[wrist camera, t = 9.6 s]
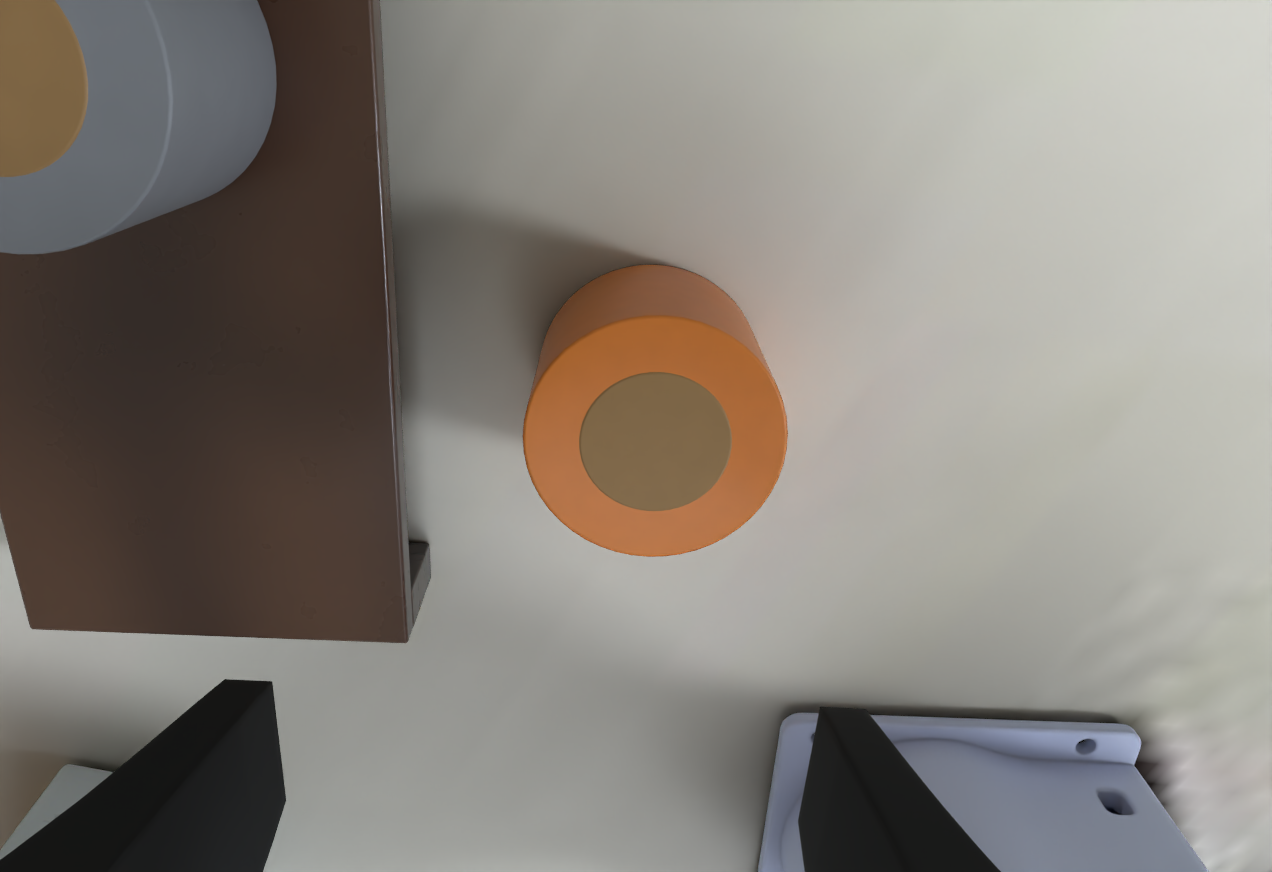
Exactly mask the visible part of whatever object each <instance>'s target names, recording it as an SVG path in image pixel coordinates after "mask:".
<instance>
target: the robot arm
mask: <svg viewBox="0 0 1272 872" xmlns="http://www.w3.org/2000/svg"><path fill="white" fill-rule="evenodd" d="M814 732H815V734H813V733H814ZM1084 739H1086V740H1085V741H1084V742H1082V743H1078V742H1080V741H1082V740H1084ZM1140 748H1141V740H1140V738H1139V736H1138V735H1137V733H1136V732H1135V731H1134V729H1133V728H1132V727H1130V726H1129V725H1125V724H1113V723H1085V722H1056V721H1028V720H1000V719H971V718H943V717H914V716H886V715H870V714H869V713H868V712H867V711H866V709H852V708H831V707H820V709H819V713H794V714H792V715H790V716H788V717H787V718H786V719H785V720H784V721H783V722H782V724H781V727H780V733H779V739H778V745H777V752H776V758H775V764H774V771H773V777H772V784H771V790H770V796H769V803H768V809H767V815H766V822H765V828H764V834H763V841H762V847H761V853H760V860H759V866H758V872H1209V871H1208V870H1207V868H1206V867H1205V865H1204V864H1203V862H1202V861H1201V860H1200V858H1199V857H1198V855H1197V854H1196V852H1195V851H1194V850H1193V848H1192V847H1191V845H1190V844H1189V843H1188V841H1187V840H1186V838H1185V837H1184V835H1183V834H1182V833H1181V831H1180V830H1179V828H1178V827H1177V826H1176V824H1175V823H1174V821H1173V820H1172V818H1171V817H1170V816H1169V814H1168V813H1167V811H1166V810H1165V809H1164V807H1163V806H1162V804H1161V803H1160V801H1159V800H1158V799H1157V797H1156V796H1155V794H1154V793H1153V792H1152V790H1151V789H1150V787H1149V786H1148V784H1147V783H1146V782H1145V780H1144V779H1143V777H1142V776H1141V775H1140V773H1139V772H1138V770H1137V769H1136V767H1135V766H1134V764H1135V761H1136V759H1137V756H1138V753H1139V750H1140ZM285 802H286V796H285V787H284V779H283V770H282V762H281V753H280V745H279V736H278V728H277V719H276V710H275V702H274V693H273V685H272V682H270V681H249V680H227V679H225V680H223V681H222V682H221V683H220V684H219V685H217V686H216V687H215V688H214V689H212V690H211V691H210V692H209V693H208V694H206V695H205V696H204V697H203V698H202V699H200V700H199V701H198V702H197V703H196V704H194V705H193V706H192V707H191V708H190V709H188V710H187V711H186V712H185V713H184V714H182V715H181V716H180V717H179V718H178V719H177V720H175V721H174V722H173V723H172V724H171V725H170V726H168V727H167V728H166V729H165V730H164V731H162V732H161V733H160V734H159V735H158V736H157V737H155V738H154V739H153V740H152V741H151V742H149V743H148V744H147V745H146V746H145V747H144V748H142V749H141V750H140V751H139V752H138V753H136V754H135V755H134V756H133V757H132V758H130V759H129V760H128V761H127V762H125V763H124V764H123V765H122V766H121V767H119V768H118V769H117V770H116V771H114V772H113V773H112V774H111V775H110V776H108V777H107V778H106V779H105V780H103V781H102V782H101V783H100V784H99V785H97V786H96V787H95V788H94V789H92V790H91V791H90V792H89V793H87V794H86V795H85V796H84V797H83V798H81V799H80V800H79V801H78V802H76V803H75V804H74V805H72V806H71V807H70V808H68V809H67V810H66V811H64V812H63V813H62V814H60V815H59V816H58V817H56V818H55V819H54V820H52V821H51V822H50V823H48V824H47V825H46V826H44V827H43V828H42V829H41V830H39V831H38V832H37V833H35V834H34V835H33V836H31V837H30V838H29V839H27V840H26V841H25V842H23V843H22V844H21V845H19V846H18V847H17V848H15V849H14V850H13V851H11V852H10V853H9V854H7V855H6V856H5V857H3V858H2V859H0V872H263V869H264V866H265V863H266V860H267V858H268V855H269V852H270V849H271V846H272V843H273V840H274V837H275V833H276V830H277V827H278V824H279V821H280V817H281V814H282V811H283V808H284V805H285Z"/></svg>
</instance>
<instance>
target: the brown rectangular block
mask: <svg viewBox="0 0 1272 872" xmlns="http://www.w3.org/2000/svg"><path fill="white" fill-rule="evenodd" d="M257 1H258V3H259V6H260V8H261V11H262V13H263V16H264V18H265V21H266V23H267V27H268V30H269V34H270V37H271V41H272V44H273V51H274V57H275V63H276V82H277V88H276V99H275V108H274V112H273V116H272V121H271V125H270V127H269V130H268V133H267V135H266V138H265V141H264V143H263V144H262V146H261V148H260V150H259V152H258V153H257V155H256V157H255V158H254V159H253V161H252V162H251V163H250V165H249V166H248V167H247V168H246V170H245V171H244V172H243V173H242V174H241V175H240V176H239V177H237V178H236V179H235V180H234V181H233V182H232V183H231V184H229V185H228V186H226V187H225V188H223V189H222V190H220V191H219V192H217V193H215V194H213V195H211V196H209V197H206V198H204V199H202V200H200V201H197V202H194V203H192V204H189V205H187V206H184V207H181V208H179V209H176V210H174V211H171V212H168V213H166V214H163V215H161V216H158V217H155V218H153V219H150V220H148V221H145V222H142V223H140V224H137V225H135V226H132V227H129V228H127V229H124V230H122V231H119V232H116V233H114V234H111V235H109V236H106V237H103V238H101V239H98V240H96V241H93V242H90V243H88V244H85V245H82V246H79V247H75V248H72V249H69V250H65V251H59V252H53V253H46V254H11V253H2V252H0V514H1V518H2V522H3V525H4V529H5V533H6V537H7V541H8V544H9V548H10V552H11V556H12V560H13V564H14V567H15V571H16V575H17V579H18V583H19V586H20V590H21V594H22V598H23V602H24V605H25V609H26V613H27V617H28V621H29V624H30V627H31V629H42V630H68V631H95V632H122V633H149V634H175V635H202V636H229V637H255V638H282V639H309V640H336V641H362V642H389V643H407V642H408V640H409V637H410V634H411V631H412V628H413V626H414V624H415V621H416V618H417V615H418V612H419V610H420V607H421V604H422V601H423V598H424V595H425V593H426V590H427V587H428V584H429V581H430V578H431V572H430V549H429V544H427V543H408V525H407V506H406V487H405V468H404V449H403V430H402V411H401V392H400V373H399V354H398V335H397V316H396V297H395V278H394V259H393V240H392V221H391V202H390V183H389V164H388V145H387V126H386V107H385V88H384V69H383V50H382V31H381V12H380V0H257Z"/></svg>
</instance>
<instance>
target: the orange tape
mask: <svg viewBox="0 0 1272 872" xmlns="http://www.w3.org/2000/svg"><path fill="white" fill-rule="evenodd" d="M787 436H788V430H787V417H786V413H785V408H784V404H783V400H782V398H781V395H780V392H779V390H778V387H777V385H776V383H775V380H774V378H773V376H772V374H771V371H770V369H769V367H768V365H767V363H766V360H765V358H764V356H763V354H762V351H761V349H760V347H759V345H758V342H757V340H756V338H755V336H754V334H753V331H752V329H751V327H750V325H749V323H748V321H747V319H746V318H745V316H744V314H743V312H742V311H741V310H740V308H739V307H738V306H737V304H736V303H735V302H734V301H733V300H732V299H731V298H730V297H729V296H728V295H727V294H726V293H725V292H724V291H723V290H721V289H720V288H719V287H718V286H716V285H715V284H714V283H712V282H710V281H708V280H707V279H705V278H703V277H701V276H699V275H697V274H694V273H692V272H689V271H687V270H683V269H680V268H676V267H672V266H663V265H638V266H631V267H625V268H622V269H618V270H614V271H611V272H609V273H607V274H604V275H602V276H600V277H598V278H596V279H594V280H593V281H591V282H589V283H587V284H586V285H585V286H583V287H582V288H581V289H579V290H578V291H577V292H576V293H574V294H573V295H572V296H571V297H570V298H569V299H568V300H567V302H566V303H565V304H564V305H563V306H562V308H561V309H560V310H559V312H558V313H557V314H556V316H555V318H554V319H553V321H552V323H551V325H550V327H549V329H548V331H547V334H546V337H545V339H544V343H543V347H542V350H541V354H540V358H539V362H538V366H537V370H536V374H535V378H534V382H533V386H532V390H531V394H530V398H529V401H528V405H527V410H526V414H525V419H524V428H523V447H524V455H525V460H526V465H527V469H528V471H529V474H530V477H531V480H532V482H533V484H534V486H535V488H536V490H537V492H538V494H539V496H540V497H541V499H542V500H543V501H544V503H545V504H546V506H547V507H548V508H549V510H550V511H551V512H552V513H553V514H554V515H555V516H556V517H557V518H558V519H559V520H560V521H561V522H562V523H563V524H565V525H566V526H567V527H568V528H569V529H571V530H572V531H573V532H575V533H576V534H578V535H580V536H581V537H583V538H584V539H586V540H588V541H590V542H592V543H594V544H596V545H598V546H601V547H604V548H607V549H610V550H612V551H615V552H620V553H625V554H629V555H637V556H669V555H677V554H682V553H686V552H691V551H695V550H698V549H700V548H703V547H706V546H708V545H711V544H713V543H715V542H717V541H719V540H721V539H723V538H725V537H726V536H728V535H729V534H731V533H732V532H734V531H735V530H737V529H738V528H740V527H741V526H742V525H743V524H744V523H745V522H747V521H748V520H749V519H750V518H751V517H752V516H753V515H754V514H755V513H756V512H757V510H758V509H759V508H760V507H761V506H762V505H763V503H764V502H765V500H766V499H767V497H768V496H769V495H770V493H771V491H772V489H773V488H774V486H775V484H776V482H777V480H778V478H779V475H780V472H781V469H782V467H783V464H784V459H785V454H786V449H787Z"/></svg>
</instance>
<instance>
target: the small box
mask: <svg viewBox="0 0 1272 872" xmlns="http://www.w3.org/2000/svg"><path fill="white" fill-rule="evenodd" d="M112 773H113V772H110V771H104V770H99V769H94V768H89V767H83V766H78V765H72V764H67V765H64V766H63V767H62V768H61V769H60V771H59V772H58V773H57V775H56V776H55V777H54V779H53V780H52V781H51V783H50V784H49V785H48V787H47V788H46V789H45V791H44V792H43V793H42V795H41V796H40V797H39V799H38V800H37V801H36V803H35V804H34V805H33V807H32V808H31V809H30V811H29V812H28V813H27V814H26V816H25V817H24V818H23V820H22V821H21V822H20V824H19V825H18V826H17V828H16V829H15V831H14V832H13V833H12V835H11V836H10V837H9V839H8V840H7V841H6V843H5V844H4V845H3V847H2V848H1V849H0V859H2V858H3V857H5V856H6V855H7V854H9V853H10V852H11V851H13V850H14V849H15V848H17V847H18V846H19V845H21V844H22V843H23V842H25V841H26V840H27V839H29V838H30V837H31V836H33V835H34V834H35V833H37V832H38V831H39V830H41V829H42V828H43V827H44V826H46V825H47V824H48V823H50V822H51V821H52V820H54V819H55V818H56V817H58V816H59V815H60V814H62V813H63V812H64V811H66V810H67V809H68V808H70V807H71V806H72V805H74V804H75V803H76V802H78V801H79V800H80V799H81V798H83V797H84V796H85V795H86V794H87V793H89V792H90V791H91V790H92V789H94V788H95V787H96V786H97V785H99V784H100V783H101V782H102V781H103V780H105V779H106V778H107V777H108V776H110V775H111V774H112Z"/></svg>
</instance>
